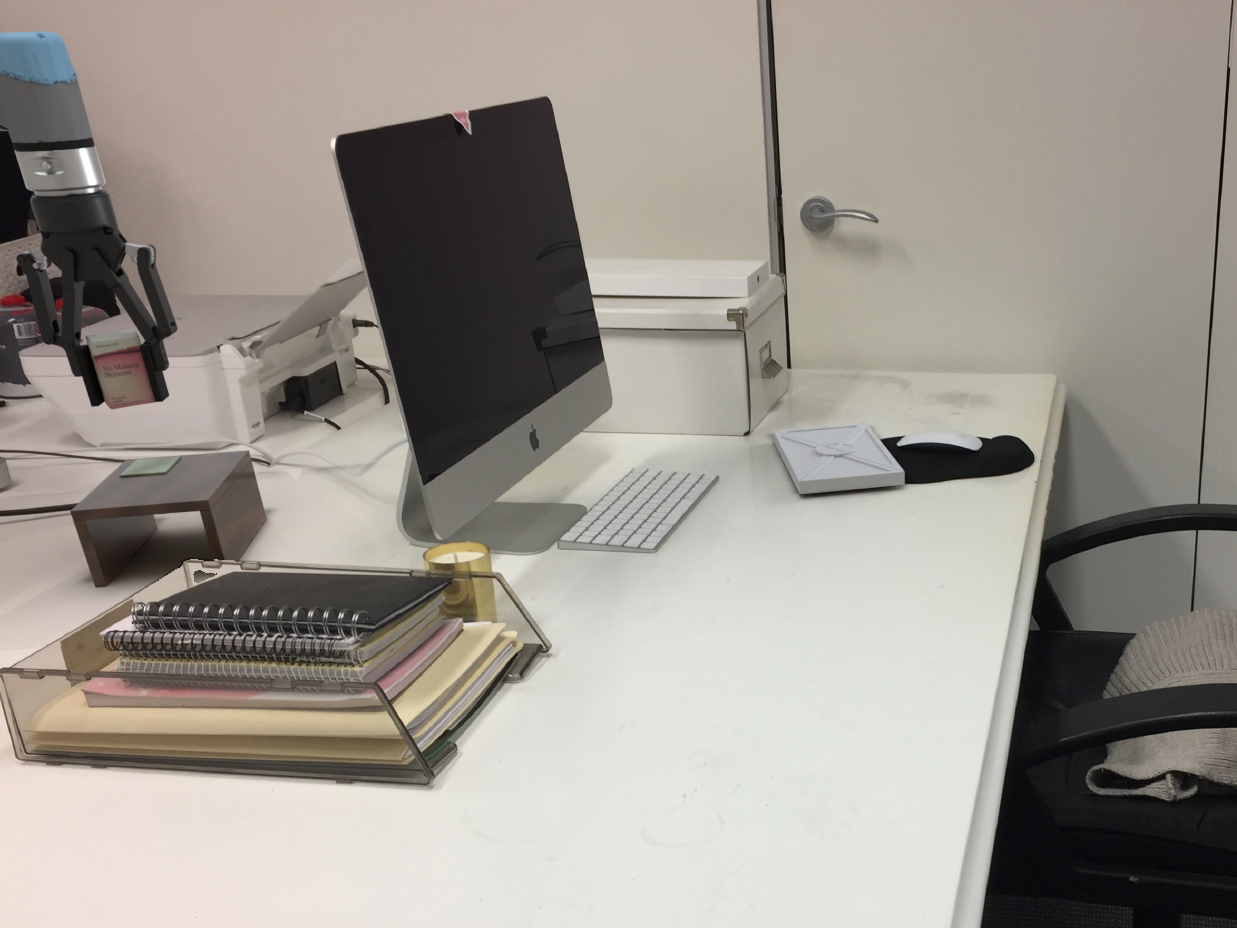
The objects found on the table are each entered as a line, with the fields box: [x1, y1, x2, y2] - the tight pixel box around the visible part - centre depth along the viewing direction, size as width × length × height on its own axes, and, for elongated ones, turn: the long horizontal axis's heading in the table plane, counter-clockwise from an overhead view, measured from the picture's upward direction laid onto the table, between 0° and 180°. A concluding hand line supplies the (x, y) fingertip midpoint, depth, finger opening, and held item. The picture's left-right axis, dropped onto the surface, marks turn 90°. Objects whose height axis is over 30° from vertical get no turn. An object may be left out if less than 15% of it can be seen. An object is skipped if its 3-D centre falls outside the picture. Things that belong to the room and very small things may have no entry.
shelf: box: [69, 449, 268, 588], centre depth 144 cm, size 14×18×9 cm
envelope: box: [772, 422, 906, 495], centre depth 168 cm, size 24×2×14 cm
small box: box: [85, 329, 156, 410], centre depth 142 cm, size 5×4×8 cm
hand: (130, 400), depth 144 cm, fingers closed on small box, 6 cm apart
